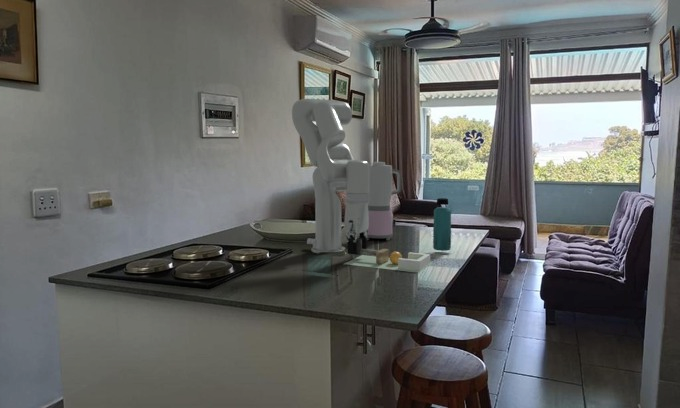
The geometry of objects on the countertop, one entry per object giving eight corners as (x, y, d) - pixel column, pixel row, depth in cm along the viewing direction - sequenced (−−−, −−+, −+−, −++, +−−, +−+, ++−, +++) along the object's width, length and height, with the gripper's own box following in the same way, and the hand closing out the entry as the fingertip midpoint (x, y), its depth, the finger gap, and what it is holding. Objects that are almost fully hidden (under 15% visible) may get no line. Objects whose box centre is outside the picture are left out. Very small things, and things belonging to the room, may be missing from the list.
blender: (363, 241, 205) (363, 162, 202) (362, 236, 217) (363, 161, 214) (402, 241, 205) (403, 162, 201) (399, 236, 217) (400, 161, 213)
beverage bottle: (451, 255, 179) (452, 199, 177) (432, 254, 180) (433, 198, 178) (450, 251, 185) (452, 197, 183) (432, 250, 187) (433, 197, 184)
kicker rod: (349, 260, 165) (349, 240, 164) (356, 256, 170) (356, 237, 170) (382, 263, 160) (382, 243, 159) (388, 260, 165) (389, 239, 164)
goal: (397, 268, 155) (398, 259, 155) (409, 261, 165) (409, 252, 164) (419, 271, 152) (420, 261, 152) (430, 263, 162) (430, 254, 161)
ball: (387, 264, 160) (387, 252, 160) (391, 262, 164) (392, 249, 163) (399, 265, 158) (399, 253, 158) (403, 263, 162) (403, 251, 161)
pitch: (343, 266, 161) (343, 263, 161) (362, 257, 174) (362, 255, 174) (418, 275, 150) (418, 272, 150) (432, 265, 163) (432, 262, 163)
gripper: (358, 195, 174) (357, 246, 176) (335, 200, 159) (335, 255, 161) (378, 196, 171) (377, 248, 173) (357, 201, 155) (356, 258, 157)
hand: (357, 251), depth 167 cm, fingers open, 7 cm apart
